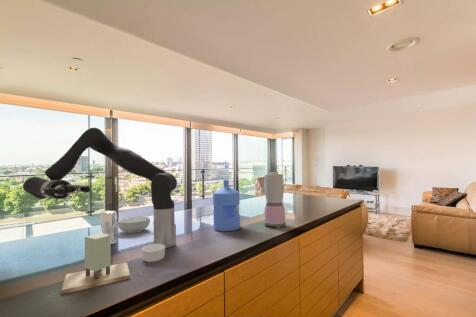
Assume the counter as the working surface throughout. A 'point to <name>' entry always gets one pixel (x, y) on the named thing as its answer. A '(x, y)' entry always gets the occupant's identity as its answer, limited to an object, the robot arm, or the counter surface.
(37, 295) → the counter surface
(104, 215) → the beer glass
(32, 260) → the counter surface
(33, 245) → the counter surface
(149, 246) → the ramekin
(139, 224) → the cereal bowl
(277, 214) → the blender
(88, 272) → the peg board
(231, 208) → the water jug
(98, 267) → the green block
